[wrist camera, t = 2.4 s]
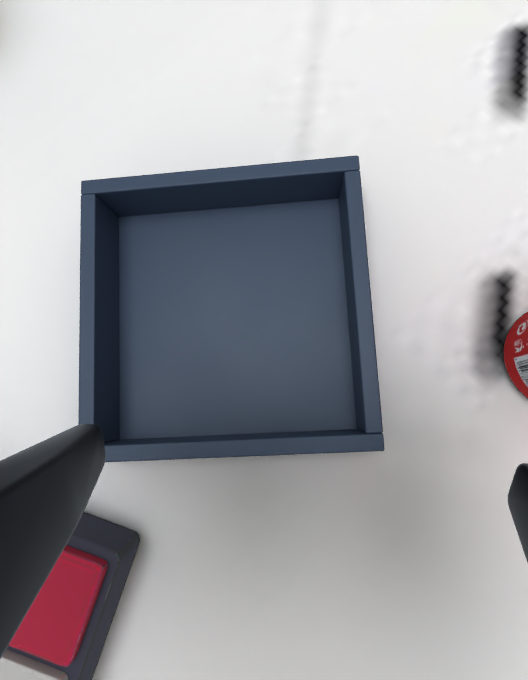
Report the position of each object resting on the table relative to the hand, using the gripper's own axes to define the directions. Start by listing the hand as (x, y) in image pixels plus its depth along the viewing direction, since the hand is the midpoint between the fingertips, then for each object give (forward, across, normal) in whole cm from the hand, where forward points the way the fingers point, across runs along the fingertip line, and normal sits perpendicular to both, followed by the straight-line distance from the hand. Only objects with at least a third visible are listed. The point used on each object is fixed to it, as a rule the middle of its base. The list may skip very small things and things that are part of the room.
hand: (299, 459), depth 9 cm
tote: (+15, +4, +2) cm, 16 cm away
